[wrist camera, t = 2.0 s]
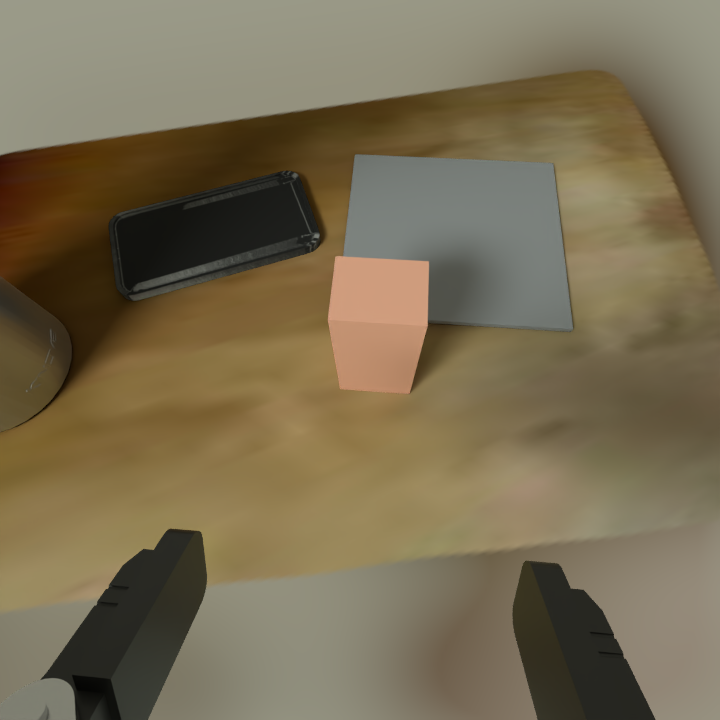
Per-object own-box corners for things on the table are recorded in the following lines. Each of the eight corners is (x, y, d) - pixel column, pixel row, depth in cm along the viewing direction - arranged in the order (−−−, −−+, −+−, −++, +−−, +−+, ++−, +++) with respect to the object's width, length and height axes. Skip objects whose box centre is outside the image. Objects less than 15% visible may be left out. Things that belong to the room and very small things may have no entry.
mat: (336, 317, 31) (336, 314, 30) (355, 158, 37) (355, 154, 36) (570, 331, 30) (573, 329, 30) (551, 167, 36) (552, 163, 35)
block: (340, 389, 29) (327, 319, 20) (345, 340, 30) (335, 256, 21) (409, 394, 29) (427, 326, 20) (411, 344, 30) (429, 261, 21)
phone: (323, 242, 32) (117, 298, 31) (324, 252, 34) (125, 306, 32) (295, 166, 35) (106, 214, 34) (297, 177, 36) (114, 224, 35)
